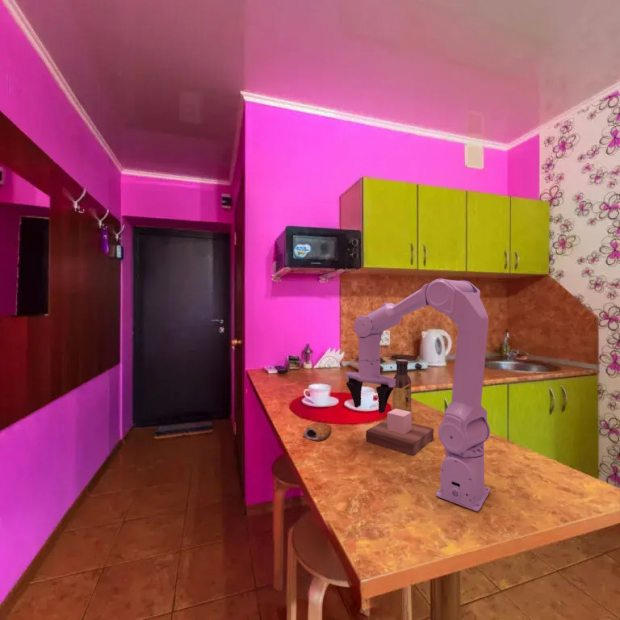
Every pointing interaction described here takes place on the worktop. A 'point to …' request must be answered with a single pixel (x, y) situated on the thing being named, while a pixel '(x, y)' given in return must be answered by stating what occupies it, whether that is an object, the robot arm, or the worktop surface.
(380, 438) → the base
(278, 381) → the worktop surface
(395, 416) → the cube
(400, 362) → the sauce bottle
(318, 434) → the pastry
